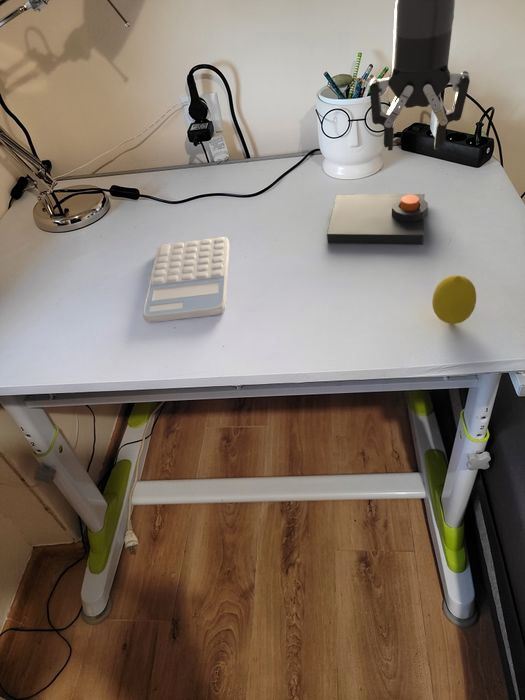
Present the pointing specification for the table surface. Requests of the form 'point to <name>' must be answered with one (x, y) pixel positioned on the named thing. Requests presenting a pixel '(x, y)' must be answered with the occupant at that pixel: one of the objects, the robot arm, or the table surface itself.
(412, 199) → the button
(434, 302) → the lemon
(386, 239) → the scale
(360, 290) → the table surface
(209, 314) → the calculator
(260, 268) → the table surface
